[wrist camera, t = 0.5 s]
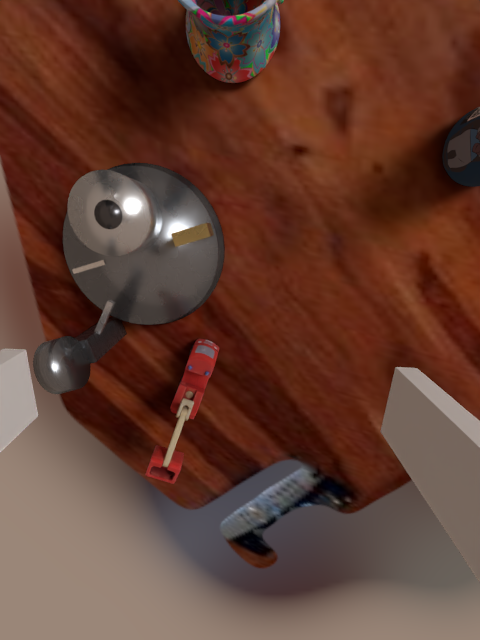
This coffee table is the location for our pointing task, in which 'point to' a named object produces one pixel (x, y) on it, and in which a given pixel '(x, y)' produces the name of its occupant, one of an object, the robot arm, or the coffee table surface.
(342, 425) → the coffee table surface
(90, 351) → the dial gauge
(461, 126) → the soda can
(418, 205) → the coffee table surface
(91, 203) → the cover
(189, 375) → the toy fire truck
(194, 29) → the mug
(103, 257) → the turntable
